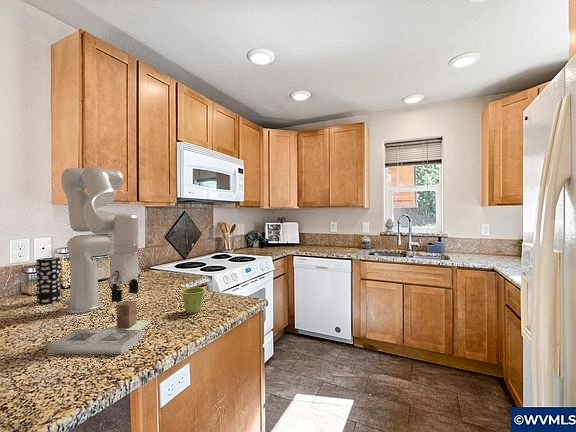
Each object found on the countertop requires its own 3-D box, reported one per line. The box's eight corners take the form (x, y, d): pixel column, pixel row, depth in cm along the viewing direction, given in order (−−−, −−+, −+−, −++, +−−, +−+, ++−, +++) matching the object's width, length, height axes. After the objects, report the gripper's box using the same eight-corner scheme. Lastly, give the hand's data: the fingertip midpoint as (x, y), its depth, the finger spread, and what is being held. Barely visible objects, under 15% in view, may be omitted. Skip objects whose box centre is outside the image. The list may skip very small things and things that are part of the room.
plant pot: (191, 316, 111) (191, 294, 111) (176, 312, 116) (176, 291, 116) (209, 310, 119) (209, 289, 119) (194, 306, 124) (194, 286, 124)
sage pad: (101, 333, 96) (101, 330, 96) (118, 323, 105) (118, 320, 105) (136, 333, 95) (136, 331, 95) (150, 323, 104) (150, 321, 104)
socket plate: (47, 353, 82) (47, 344, 82) (77, 336, 93) (77, 329, 93) (121, 354, 81) (121, 345, 81) (142, 337, 92) (142, 329, 92)
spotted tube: (32, 303, 129) (32, 259, 129) (53, 298, 136) (53, 257, 136) (43, 305, 126) (43, 260, 126) (64, 300, 133) (64, 258, 133)
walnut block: (116, 328, 98) (116, 305, 98) (124, 323, 102) (124, 301, 102) (129, 328, 98) (129, 305, 98) (136, 323, 102) (136, 301, 102)
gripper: (130, 245, 109) (129, 289, 109) (98, 252, 92) (98, 304, 92) (149, 246, 109) (148, 290, 109) (121, 253, 91) (120, 305, 92)
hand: (125, 297), depth 100 cm, fingers open, 9 cm apart
